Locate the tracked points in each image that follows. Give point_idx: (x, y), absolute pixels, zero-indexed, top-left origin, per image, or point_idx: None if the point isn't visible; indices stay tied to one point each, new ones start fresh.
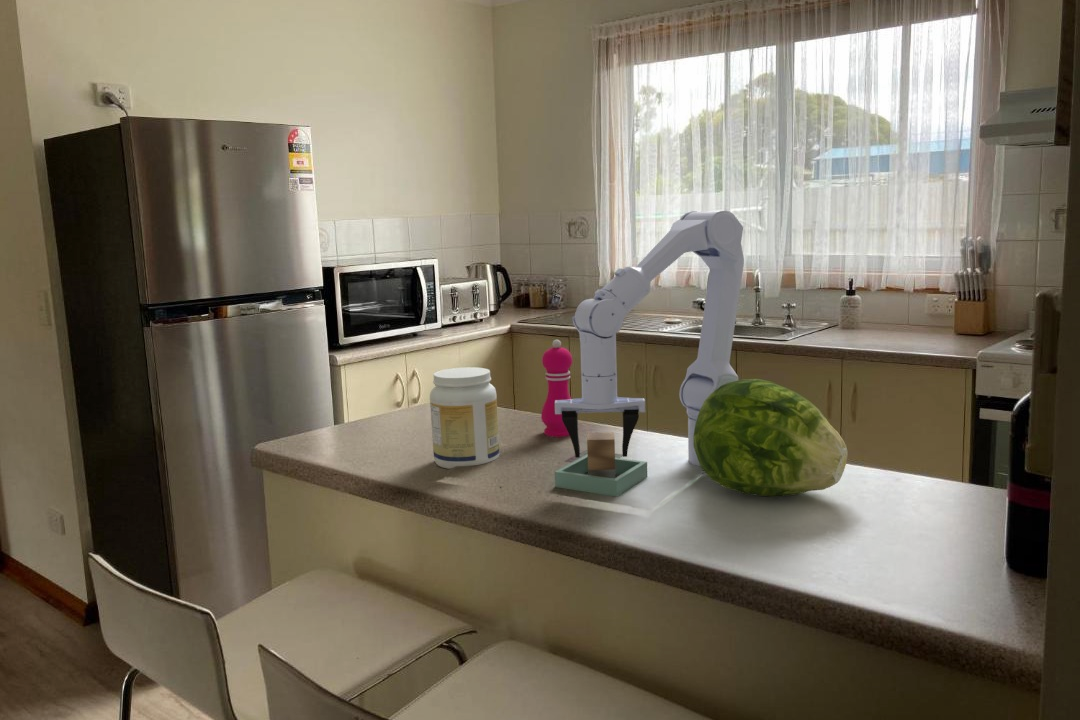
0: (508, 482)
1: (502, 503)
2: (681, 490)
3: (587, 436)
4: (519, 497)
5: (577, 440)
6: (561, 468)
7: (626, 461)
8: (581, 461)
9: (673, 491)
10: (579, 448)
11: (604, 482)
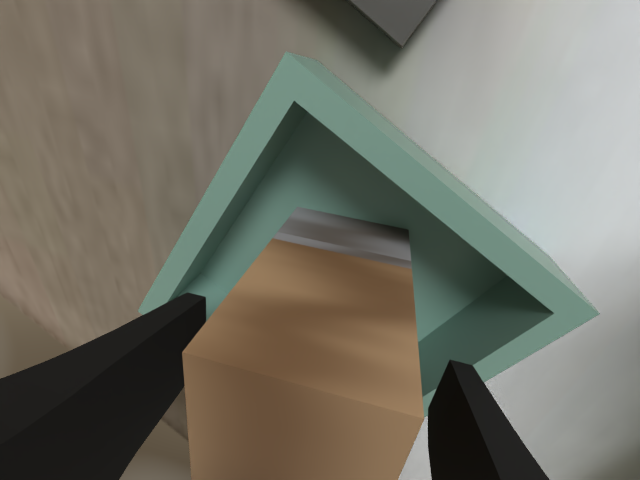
0: (12, 118)
1: (64, 305)
2: (630, 373)
3: (189, 428)
4: (93, 276)
5: (136, 448)
6: (158, 282)
7: (488, 258)
8: (244, 181)
9: (592, 372)
10: (184, 340)
11: None
